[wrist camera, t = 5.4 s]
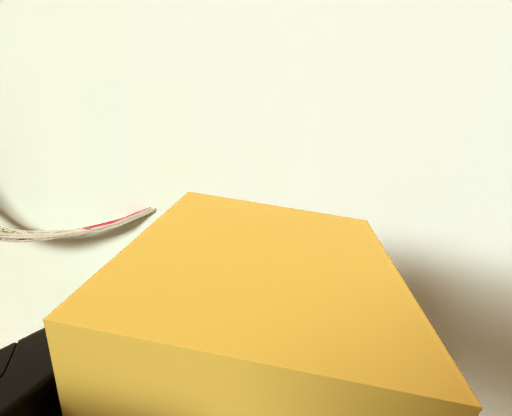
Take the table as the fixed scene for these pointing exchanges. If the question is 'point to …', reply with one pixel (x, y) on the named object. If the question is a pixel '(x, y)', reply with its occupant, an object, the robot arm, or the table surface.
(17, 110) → the table surface
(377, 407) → the mustard cube
